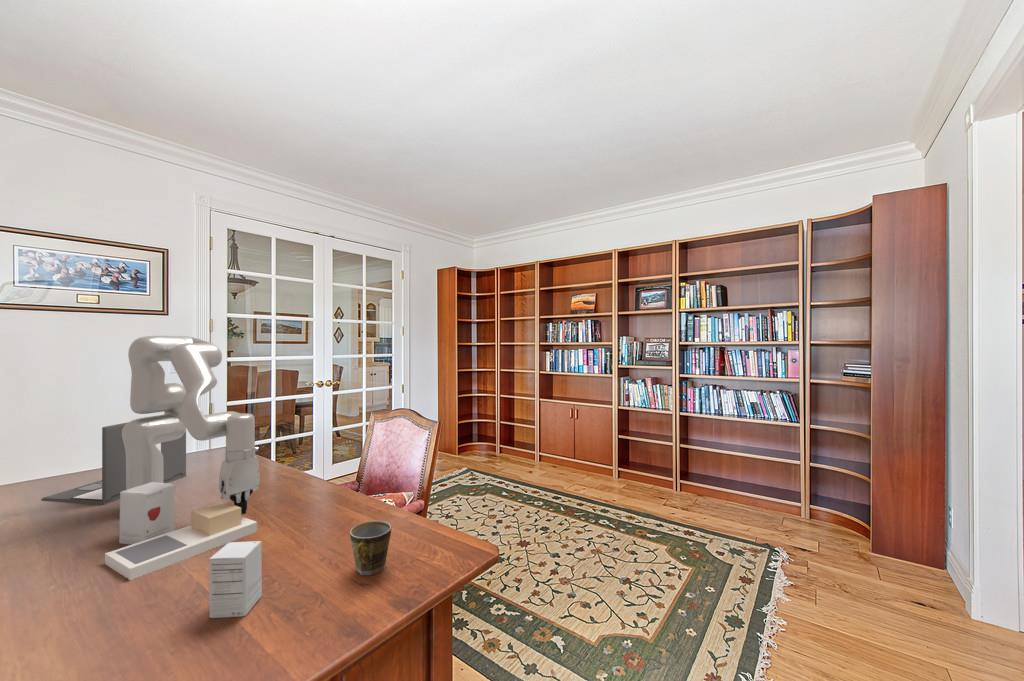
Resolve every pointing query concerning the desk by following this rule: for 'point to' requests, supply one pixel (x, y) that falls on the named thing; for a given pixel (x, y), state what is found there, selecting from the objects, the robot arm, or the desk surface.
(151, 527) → the supplement box
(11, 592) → the desk surface
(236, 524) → the kraft carton
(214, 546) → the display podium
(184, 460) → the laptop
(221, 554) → the supplement box
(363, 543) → the ceramic cup
